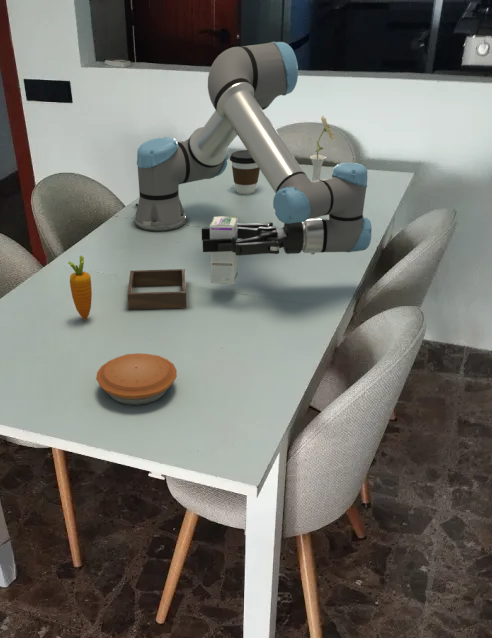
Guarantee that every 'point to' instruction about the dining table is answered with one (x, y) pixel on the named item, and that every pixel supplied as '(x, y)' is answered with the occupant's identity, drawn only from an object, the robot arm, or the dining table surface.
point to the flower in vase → (318, 159)
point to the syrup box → (223, 262)
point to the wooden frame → (157, 298)
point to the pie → (136, 378)
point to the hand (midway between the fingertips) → (202, 240)
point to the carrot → (81, 289)
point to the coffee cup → (244, 172)
